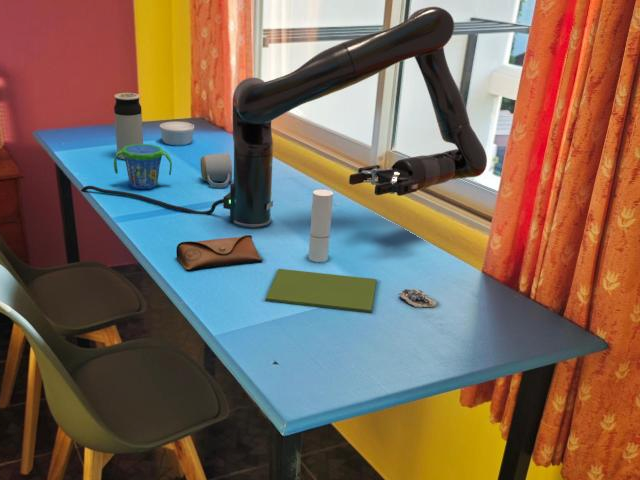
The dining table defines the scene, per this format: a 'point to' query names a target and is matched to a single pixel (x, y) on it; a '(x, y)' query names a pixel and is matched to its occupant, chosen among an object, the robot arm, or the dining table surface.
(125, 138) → the travel mug
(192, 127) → the ramekin
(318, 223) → the tube
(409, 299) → the rough mineral rock
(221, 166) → the ceramic mug
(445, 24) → the robot arm
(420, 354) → the dining table surface
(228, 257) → the sunglasses case
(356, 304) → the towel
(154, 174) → the snack cup
